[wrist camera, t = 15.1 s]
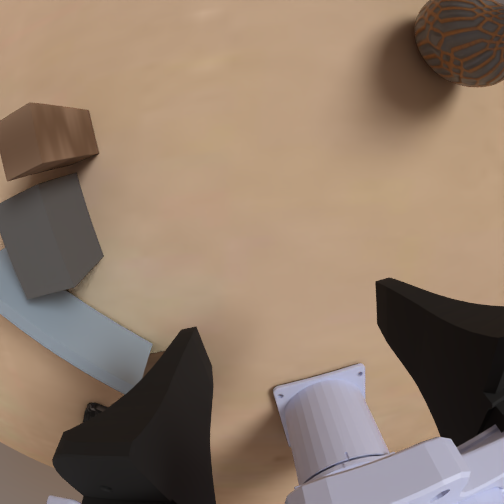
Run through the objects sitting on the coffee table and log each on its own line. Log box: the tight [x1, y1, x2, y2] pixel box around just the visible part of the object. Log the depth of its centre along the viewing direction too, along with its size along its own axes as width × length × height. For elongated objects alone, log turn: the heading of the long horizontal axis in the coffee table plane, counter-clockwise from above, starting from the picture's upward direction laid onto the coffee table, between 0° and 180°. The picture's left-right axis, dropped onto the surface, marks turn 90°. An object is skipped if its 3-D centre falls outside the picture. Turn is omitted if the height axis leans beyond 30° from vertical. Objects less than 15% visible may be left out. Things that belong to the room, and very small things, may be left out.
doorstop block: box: [0, 173, 104, 300], centre depth 17 cm, size 6×4×5 cm, turn 13°
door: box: [0, 247, 152, 394], centre depth 19 cm, size 14×2×5 cm, turn 55°
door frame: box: [0, 103, 165, 378], centre depth 17 cm, size 20×2×7 cm, turn 13°
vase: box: [415, 0, 504, 87], centre depth 12 cm, size 7×7×9 cm
